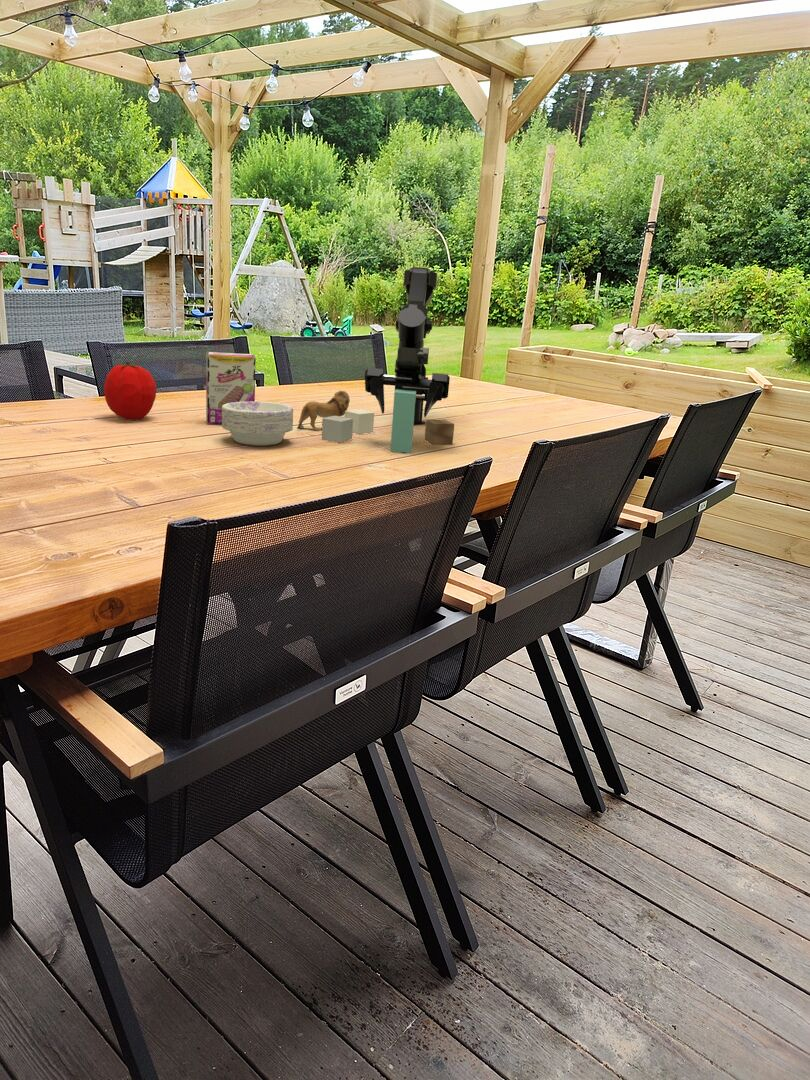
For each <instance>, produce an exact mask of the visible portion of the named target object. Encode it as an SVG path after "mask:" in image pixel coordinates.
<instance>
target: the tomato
mask: <svg viewBox="0 0 810 1080" xmlns="http://www.w3.org/2000/svg"><path fill="white" fill-rule="evenodd" d="M140 363H141V362H136V363H131V364H130V361H126V363H125V364H124V363H119V364H116V365H114V366H113V367H112V368H111V369H110V370H109V372H108V373H107V375H106V378H105V380H104V384H103V387H104V388H103V391H104V392H103V393H104V398H105V402H106V405H107V406H108V408H109V409H110V411H111V412H113V413H114V414H115V415H116V416H117V417H119V418H122V419H125V420H129V419H130V420H131V421H137V420H141V419H143V418H145V417H146V416H147V415H148V414H149V413H150V411H151V410H152V408H153V406H154V403H155V400H156V396H157V391H158V390H157V386H156V381H155V379H154V377H153V376H152V374H151V372H150V371H148V370H147V369H145V368H143V367H141V366H140V365H139V364H140ZM136 419H137V420H136Z"/></svg>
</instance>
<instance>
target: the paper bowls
mask: <svg viewBox="0 0 810 1080" xmlns="http://www.w3.org/2000/svg"><path fill="white" fill-rule="evenodd" d="M293 425H294V408H293V406H290V405H288V404H284V403H278V402H271V401H269V402H268V401H248V402H232V403H227V404H224V405H223V406H222V424H221V427H222V429H223V430H225V431H229V433H230V434H231V437H232V439H233V441H235V442H236V443H238V444H242V445H245V446H254V447H255V446H259V447H260V446H262V447H265V446H273V445H277V444H279V443H281V442H282V441H283V439H284V437H285V434H286V433H290V432H291V431H293V429H294V426H293Z"/></svg>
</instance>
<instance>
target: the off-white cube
mask: <svg viewBox="0 0 810 1080" xmlns="http://www.w3.org/2000/svg"><path fill="white" fill-rule="evenodd" d="M344 417H346V418H351V419H353V428H352V434H353V433H356V434H355V435H357V434H361V435H365V434H364V433H368V434H372V433H371V432H373V433H374V425H375V412H373V411H368V410H365V409H361V408H359V409H358V408H357V409H350V410H348V409H347V411H345V414H344Z"/></svg>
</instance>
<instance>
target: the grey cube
mask: <svg viewBox="0 0 810 1080" xmlns="http://www.w3.org/2000/svg"><path fill="white" fill-rule="evenodd" d="M321 418H322V417H321ZM321 425H322V426H321V440H322V441H326V440H328V441H327V442H331V441H334V442H333V443H336V442H340V443H339V444H342V443H341V442H343V443H345V442H344V441H347V440H350V439H352V440H353V433H352V428H353V419H351V418H346V417H345V416H330V417H326V418H322V421H321ZM350 441H351V440H350ZM347 442H348V441H347Z"/></svg>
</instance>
